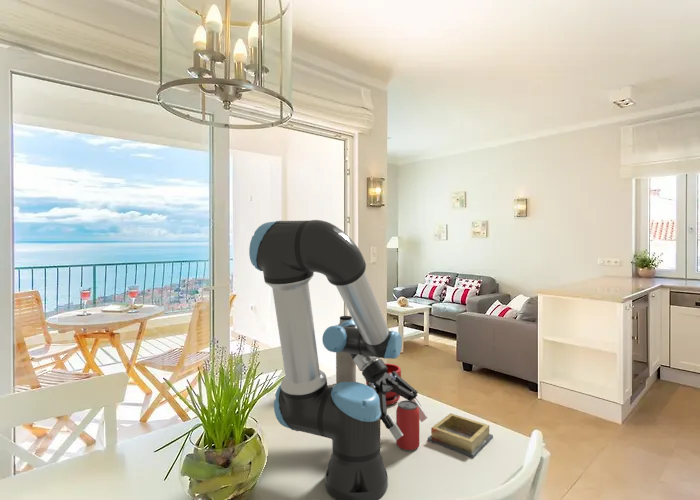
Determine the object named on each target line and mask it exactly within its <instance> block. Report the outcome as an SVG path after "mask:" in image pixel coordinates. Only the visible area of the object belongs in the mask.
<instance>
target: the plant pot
mask: <svg viewBox="0 0 700 500" xmlns="http://www.w3.org/2000/svg"><path fill="white" fill-rule="evenodd" d="M385 365H386V366H387V373H388V374H389V375H390V374H391V373H392V372H393V371H395V372H396V373H397V374H398V375H399V377H401V378H402V369H401V367H400V366H399V365H397V364H394V363H393V364H392V363H385ZM365 383H366V384H365V385H367V384H369V383H368V382H367V381H366V380H365ZM385 396H386V406H388V405H392V404H395V403H397V402H398V401H399V400H400V398H401V396H400V395H398V394H396V393H395V392H391V391H390V392H388V393H386V394H385Z"/></svg>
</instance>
